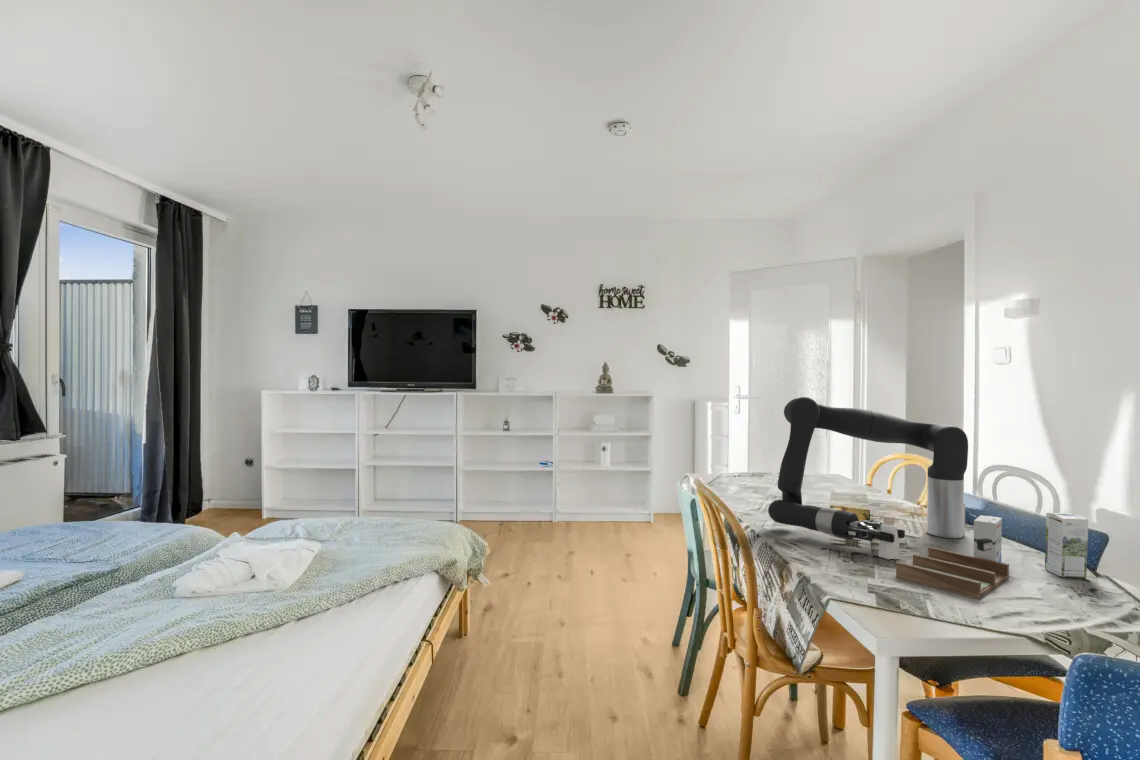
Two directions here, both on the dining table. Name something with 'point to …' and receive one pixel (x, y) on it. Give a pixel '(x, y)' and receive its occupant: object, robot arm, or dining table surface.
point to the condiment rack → (954, 572)
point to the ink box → (988, 537)
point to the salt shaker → (888, 548)
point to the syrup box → (1066, 544)
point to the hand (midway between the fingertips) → (898, 536)
